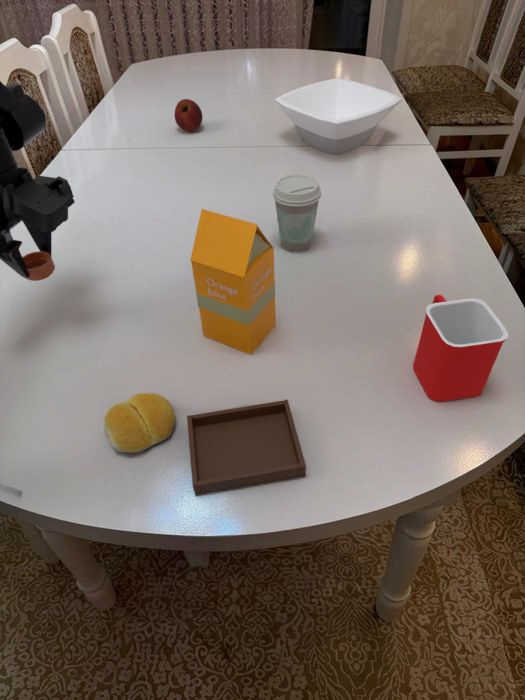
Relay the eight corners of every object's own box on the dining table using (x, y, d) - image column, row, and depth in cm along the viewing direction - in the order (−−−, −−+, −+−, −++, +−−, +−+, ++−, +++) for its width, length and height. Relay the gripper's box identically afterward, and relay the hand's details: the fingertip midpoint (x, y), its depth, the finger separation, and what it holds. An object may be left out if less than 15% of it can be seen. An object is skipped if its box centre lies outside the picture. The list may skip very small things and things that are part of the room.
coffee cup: (270, 254, 92) (268, 194, 84) (277, 230, 98) (276, 171, 90) (316, 257, 91) (319, 197, 83) (320, 232, 97) (323, 173, 88)
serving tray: (195, 496, 58) (192, 486, 56) (189, 426, 65) (186, 415, 64) (305, 476, 59) (306, 466, 58) (287, 410, 66) (287, 399, 65)
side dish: (20, 284, 73) (14, 272, 72) (25, 265, 77) (20, 253, 75) (53, 279, 74) (48, 267, 72) (57, 261, 77) (52, 249, 76)
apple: (171, 133, 134) (166, 102, 129) (185, 123, 139) (180, 92, 134) (195, 137, 132) (191, 105, 127) (208, 126, 137) (205, 95, 132)
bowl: (335, 171, 115) (338, 126, 108) (267, 139, 129) (266, 97, 122) (404, 141, 125) (411, 98, 118) (334, 115, 140) (336, 75, 132)
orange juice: (229, 307, 82) (217, 195, 68) (276, 324, 78) (273, 210, 64) (202, 336, 77) (183, 222, 63) (251, 356, 74) (241, 240, 60)
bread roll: (186, 431, 65) (181, 413, 62) (121, 465, 61) (113, 447, 58) (159, 391, 70) (154, 372, 67) (98, 421, 66) (90, 402, 63)
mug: (488, 396, 67) (514, 339, 59) (430, 405, 66) (448, 348, 58) (451, 336, 75) (468, 279, 68) (398, 343, 74) (410, 287, 67)
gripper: (-8, 210, 55) (42, 316, 66) (88, 143, 68) (116, 242, 79) (-83, 197, 58) (-24, 301, 69) (22, 135, 70) (58, 232, 82)
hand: (37, 267), depth 75 cm, fingers closed on side dish, 5 cm apart
